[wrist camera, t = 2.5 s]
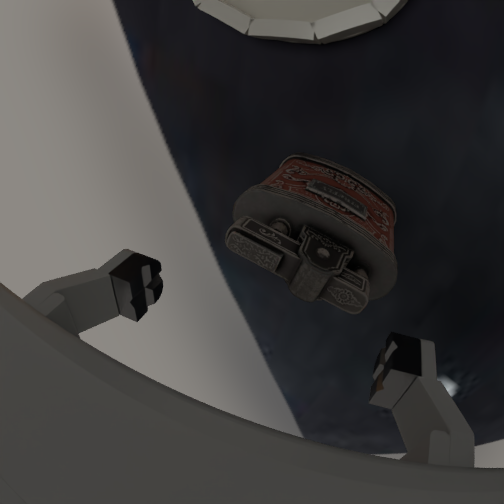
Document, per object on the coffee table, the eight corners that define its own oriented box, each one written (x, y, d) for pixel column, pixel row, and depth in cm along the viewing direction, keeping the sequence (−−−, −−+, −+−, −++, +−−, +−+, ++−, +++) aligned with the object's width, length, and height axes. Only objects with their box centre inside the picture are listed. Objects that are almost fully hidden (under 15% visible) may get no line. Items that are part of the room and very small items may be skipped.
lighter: (405, 200, 18) (414, 298, 10) (380, 241, 20) (366, 351, 12) (292, 141, 19) (216, 192, 11) (274, 185, 21) (197, 261, 13)
